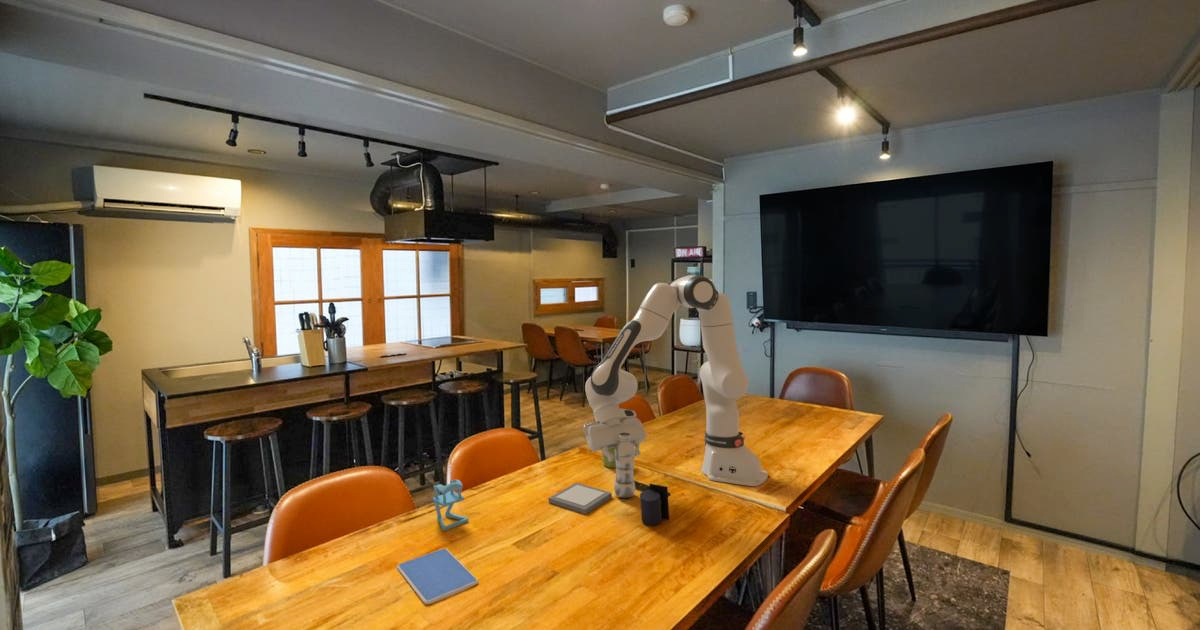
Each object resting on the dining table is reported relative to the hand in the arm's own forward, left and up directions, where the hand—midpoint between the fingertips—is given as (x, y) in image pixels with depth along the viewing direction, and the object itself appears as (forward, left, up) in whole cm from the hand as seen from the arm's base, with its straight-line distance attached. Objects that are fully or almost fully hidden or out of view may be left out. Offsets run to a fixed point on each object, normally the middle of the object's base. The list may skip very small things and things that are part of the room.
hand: (625, 457), depth 161 cm
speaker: (-16, +10, -13) cm, 23 cm away
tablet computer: (+14, +61, -13) cm, 64 cm away
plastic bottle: (0, 0, -13) cm, 13 cm away
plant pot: (+18, -20, -13) cm, 30 cm away
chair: (+33, +42, -13) cm, 55 cm away
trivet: (+10, +10, -13) cm, 19 cm away
